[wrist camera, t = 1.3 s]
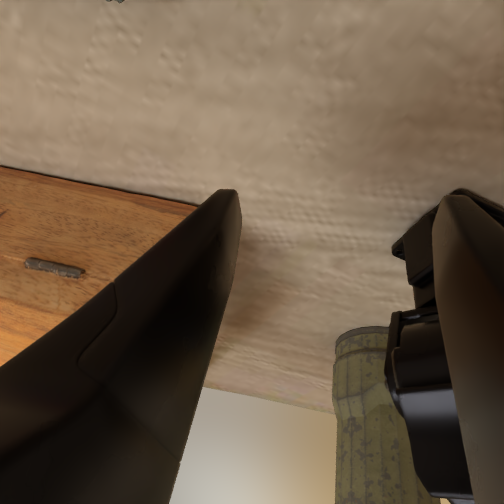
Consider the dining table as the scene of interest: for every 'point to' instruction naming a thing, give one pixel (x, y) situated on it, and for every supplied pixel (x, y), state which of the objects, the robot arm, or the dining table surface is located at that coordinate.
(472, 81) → the dining table surface
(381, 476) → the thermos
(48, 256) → the wooden box
